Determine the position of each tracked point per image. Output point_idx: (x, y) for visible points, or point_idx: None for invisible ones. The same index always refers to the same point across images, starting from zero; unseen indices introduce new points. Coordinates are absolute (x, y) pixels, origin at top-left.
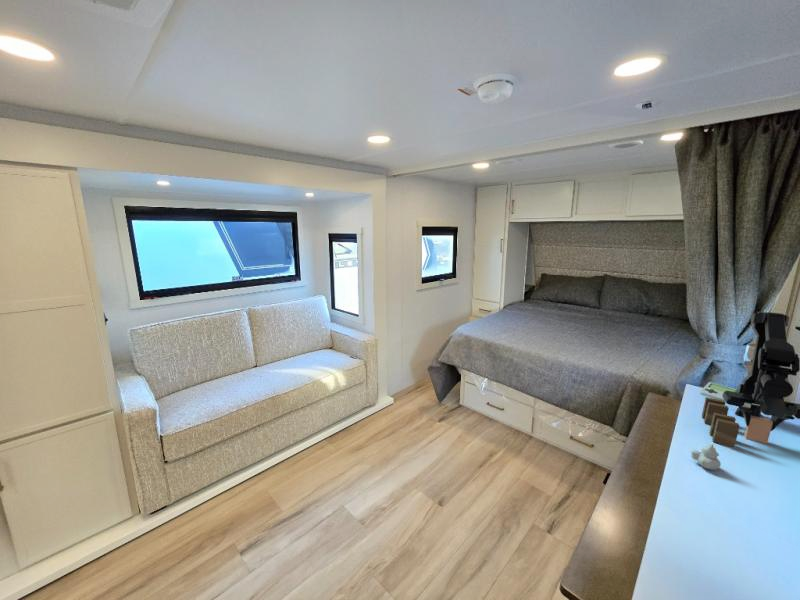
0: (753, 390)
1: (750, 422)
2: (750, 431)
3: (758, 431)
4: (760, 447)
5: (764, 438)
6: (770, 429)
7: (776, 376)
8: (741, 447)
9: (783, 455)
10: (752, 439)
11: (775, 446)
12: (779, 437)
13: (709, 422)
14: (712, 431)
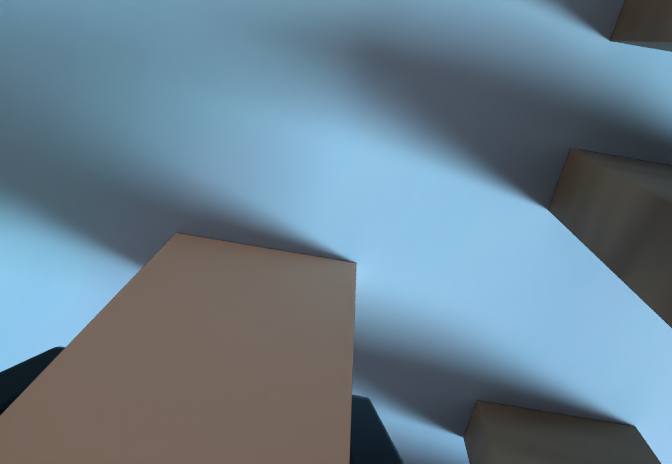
0: None
1: (338, 452)
2: (323, 322)
3: (234, 325)
4: (277, 117)
5: (185, 267)
6: (61, 361)
7: None
8: (525, 12)
9: (85, 15)
10: (299, 258)
11: (110, 208)
12: None
13: (619, 445)
14: None
